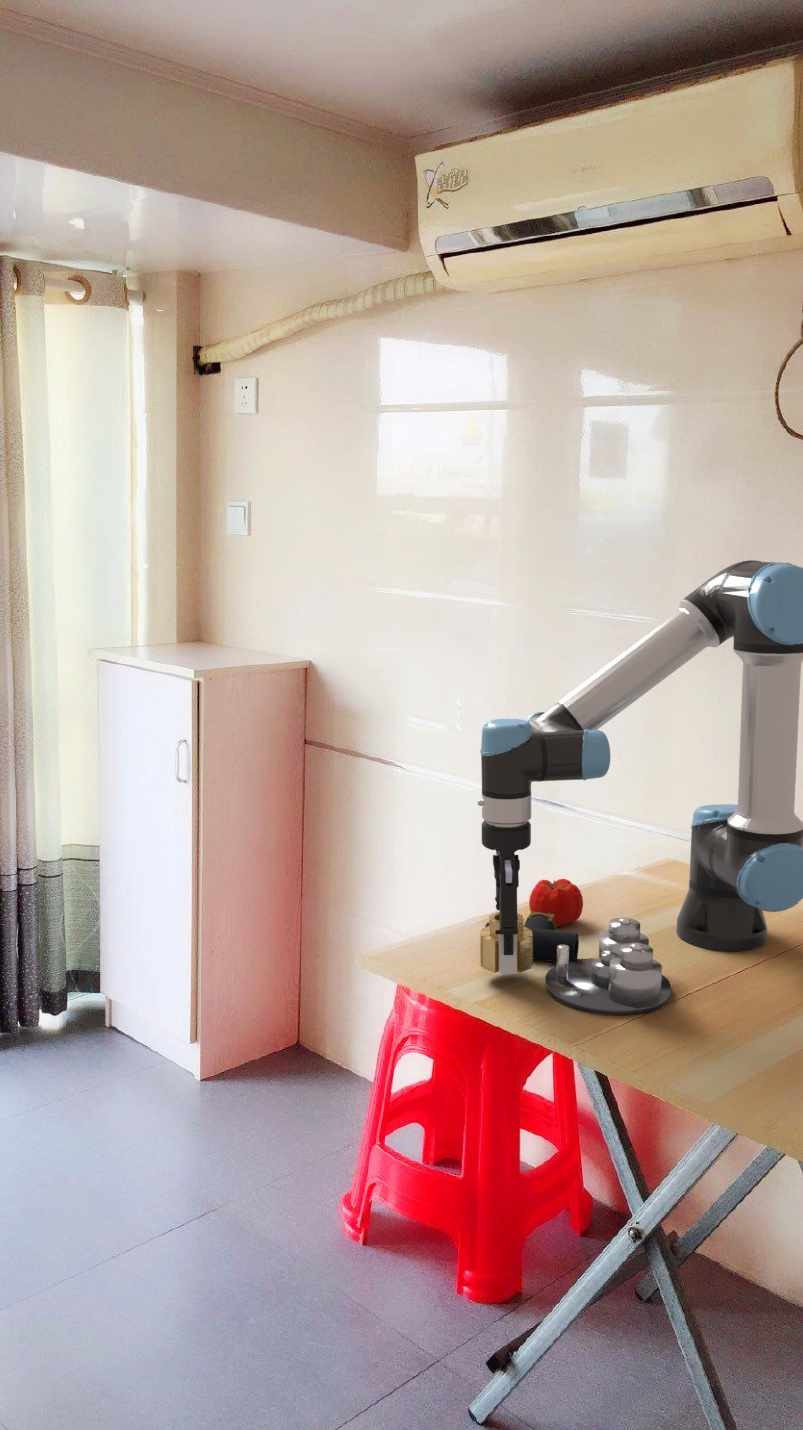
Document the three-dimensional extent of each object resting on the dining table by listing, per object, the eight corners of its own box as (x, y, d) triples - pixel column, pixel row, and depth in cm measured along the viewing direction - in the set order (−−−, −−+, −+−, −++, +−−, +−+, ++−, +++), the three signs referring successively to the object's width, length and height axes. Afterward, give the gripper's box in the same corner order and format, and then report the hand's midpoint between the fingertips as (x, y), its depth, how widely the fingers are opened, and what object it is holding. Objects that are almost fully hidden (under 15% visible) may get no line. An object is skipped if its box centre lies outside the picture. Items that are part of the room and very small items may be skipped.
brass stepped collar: (530, 953, 185) (530, 908, 184) (534, 973, 177) (534, 926, 176) (479, 954, 186) (479, 909, 184) (481, 973, 178) (481, 927, 176)
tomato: (524, 928, 204) (525, 887, 203) (535, 912, 213) (536, 872, 211) (577, 934, 202) (579, 893, 200) (586, 918, 210) (587, 878, 209)
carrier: (658, 966, 188) (660, 911, 186) (682, 1017, 169) (685, 956, 167) (540, 964, 188) (541, 909, 186) (551, 1014, 169) (553, 953, 168)
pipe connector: (500, 904, 202) (586, 914, 197) (500, 933, 203) (585, 944, 198) (482, 927, 191) (573, 939, 186) (482, 958, 192) (572, 970, 187)
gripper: (479, 803, 188) (479, 937, 192) (484, 840, 167) (484, 989, 171) (525, 803, 188) (525, 937, 192) (536, 839, 167) (535, 989, 171)
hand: (506, 961), depth 181 cm, fingers closed on brass stepped collar, 8 cm apart
